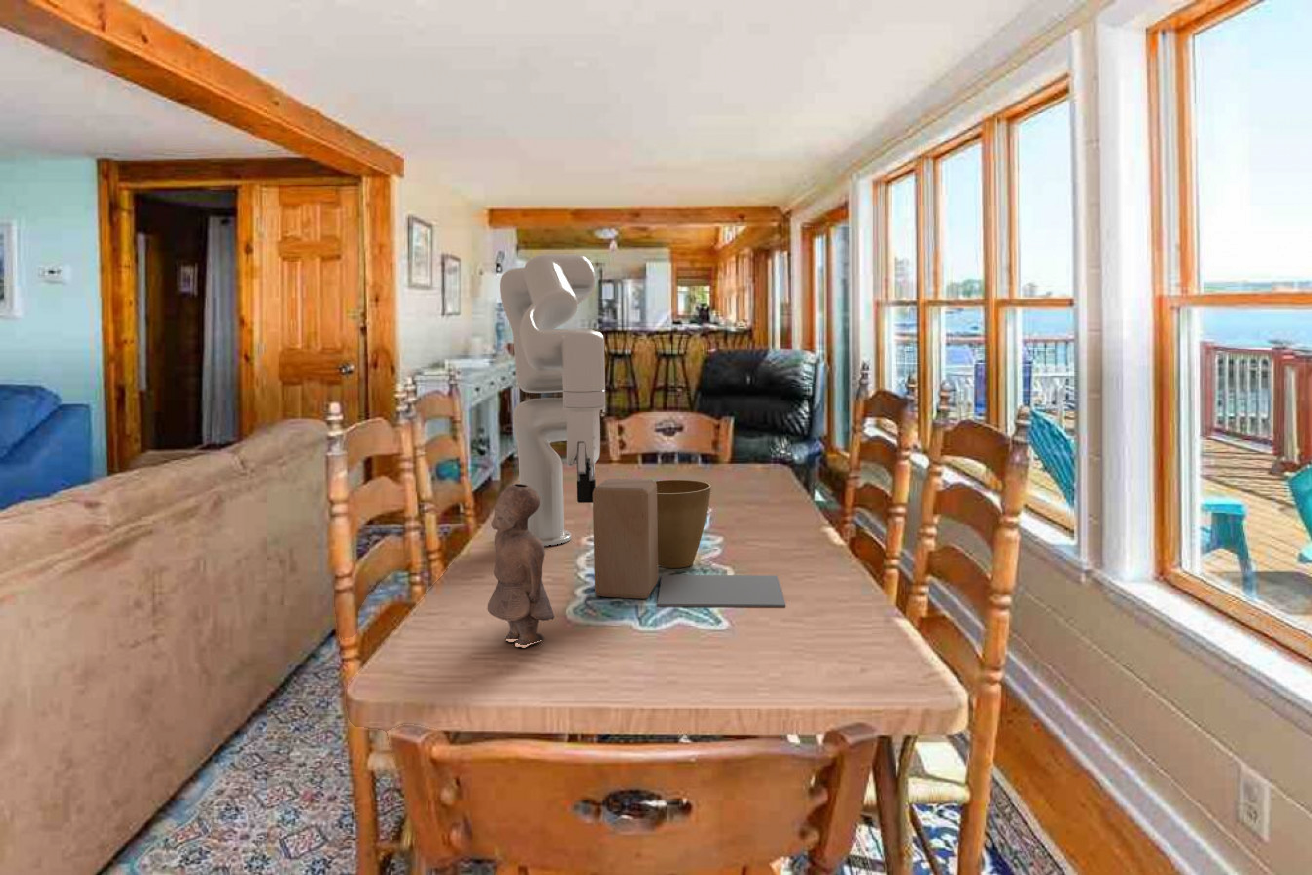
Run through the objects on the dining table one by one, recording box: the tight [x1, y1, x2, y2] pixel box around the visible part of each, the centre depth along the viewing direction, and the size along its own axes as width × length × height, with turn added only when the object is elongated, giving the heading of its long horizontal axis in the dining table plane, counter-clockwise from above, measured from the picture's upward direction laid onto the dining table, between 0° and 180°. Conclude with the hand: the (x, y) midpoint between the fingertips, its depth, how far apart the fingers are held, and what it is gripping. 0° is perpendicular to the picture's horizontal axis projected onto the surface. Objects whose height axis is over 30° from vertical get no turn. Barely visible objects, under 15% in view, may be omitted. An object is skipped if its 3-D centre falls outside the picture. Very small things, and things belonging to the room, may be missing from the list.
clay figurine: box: [486, 483, 555, 645], centre depth 138 cm, size 13×10×25 cm
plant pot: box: [654, 479, 712, 569], centre depth 181 cm, size 15×15×16 cm
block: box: [592, 478, 659, 600], centre depth 164 cm, size 10×10×20 cm
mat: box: [657, 574, 786, 608], centre depth 164 cm, size 22×17×1 cm
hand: (586, 501), depth 163 cm, fingers closed
